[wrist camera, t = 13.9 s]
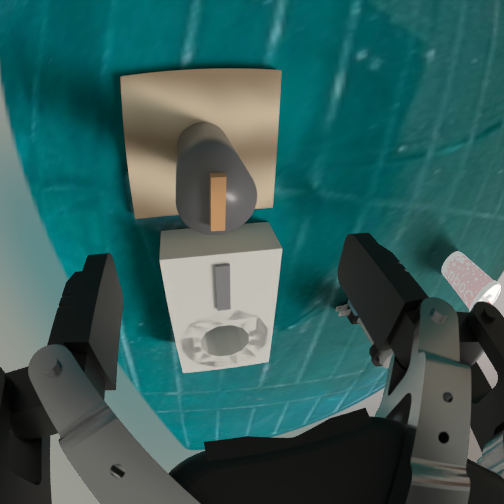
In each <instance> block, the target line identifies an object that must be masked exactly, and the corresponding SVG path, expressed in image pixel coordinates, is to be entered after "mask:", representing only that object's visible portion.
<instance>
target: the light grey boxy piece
mask: <svg viewBox="0 0 504 504" xmlns="http://www.w3.org/2000/svg"><path fill="white" fill-rule="evenodd" d="M281 256H282V247H281V245H280V243H279V241H278V239H277V237H276V235H275V233H274V231H273V230H272V228H271V226H270V224H269V222H259V223H246V224H243V225H242V226H241V227H239V228H238V229H236V230H234V231H232V232H229V233H226V234H222V235H206V234H202V233H199V232H196V231H194V230H192V229H191V228H187V229H176V230H166V231H161V239H160V258H159V261H160V266H161V272H162V278H163V283H164V289H165V294H166V299H167V304H168V309H169V314H170V319H171V323H172V328H173V333H174V337H175V342H176V346H177V350H178V354H179V359H180V363H181V367H182V371H183V373H190V372H199V371H208V370H217V369H225V368H232V367H239V366H246V365H253V364H259V363H265V362H269V355H270V348H271V340H272V332H273V324H274V316H275V308H276V300H277V291H278V283H279V274H280V265H281Z"/></svg>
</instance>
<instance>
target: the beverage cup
mask: <svg viewBox="0 0 504 504" xmlns="http://www.w3.org/2000/svg"><path fill="white" fill-rule="evenodd" d="M441 272H442V274H443V276H444V277H445V278H446V279H447V281H448V282H449V283H450V285H451V286H452V287H453V288H454V290H455V291H456V292H457V294H458V295H459V296H460V298H461V299H462V300H463V302H464V303H465V304H466V306H467V307H468V308H469V312H470V311H471V310H472V308H473V306H474V305H475V303H477V302H479V301H484V302H487V303H490V304H491V305H492V304H493V303H494V302H495V300H496V299H497V297H498V295H499V293H500V290H501V285H500V284H499V283H498V282H497V281H494V280H492V279H491V278H490V277H489V276H488V275H487V274H486V273H485V272H484V271H482V270H481V269H480V268H479V267H478V266H477V265H476V264H474V263H473V262H472V261H471V260H470V259H468V258H467V257H466V256H465V255H464V254H463V253H461V252H460V251H456V252H454V253H452V254H451V255H450V256H449V257H448V258H447V259H446V260H445V262H444V263H443V266H442V270H441Z"/></svg>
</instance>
